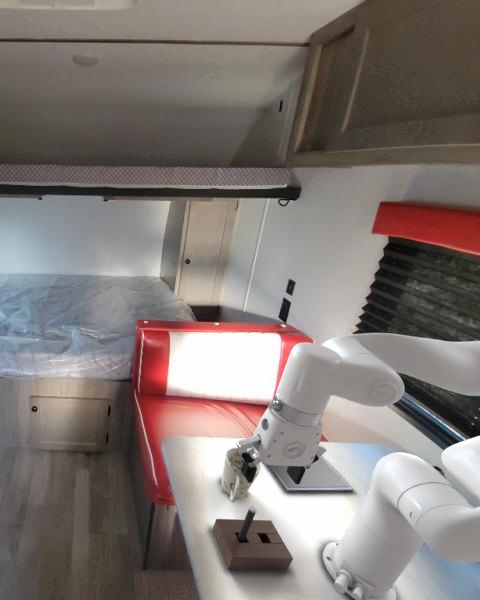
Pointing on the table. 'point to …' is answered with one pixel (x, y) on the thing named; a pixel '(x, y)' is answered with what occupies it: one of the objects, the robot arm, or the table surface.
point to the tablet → (312, 478)
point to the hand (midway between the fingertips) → (269, 477)
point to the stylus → (246, 523)
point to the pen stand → (251, 545)
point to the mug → (235, 475)
